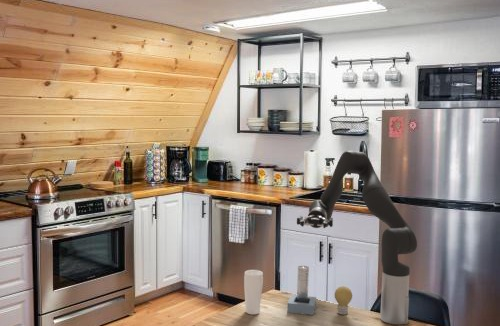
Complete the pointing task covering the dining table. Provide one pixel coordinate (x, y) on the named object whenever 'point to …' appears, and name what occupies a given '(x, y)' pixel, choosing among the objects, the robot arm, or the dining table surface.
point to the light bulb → (343, 299)
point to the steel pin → (302, 284)
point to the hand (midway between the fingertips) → (313, 224)
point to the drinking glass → (253, 291)
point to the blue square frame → (301, 305)
